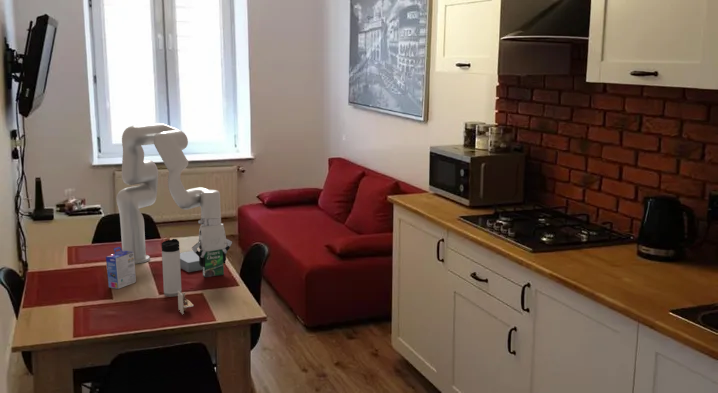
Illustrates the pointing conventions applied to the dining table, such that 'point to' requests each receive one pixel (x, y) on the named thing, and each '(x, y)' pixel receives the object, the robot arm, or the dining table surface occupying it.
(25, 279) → the dining table surface
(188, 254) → the base block
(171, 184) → the robot arm
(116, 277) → the ink cartridge box
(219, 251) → the coffee box
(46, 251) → the dining table surface
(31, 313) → the dining table surface
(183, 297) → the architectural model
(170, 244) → the travel mug
